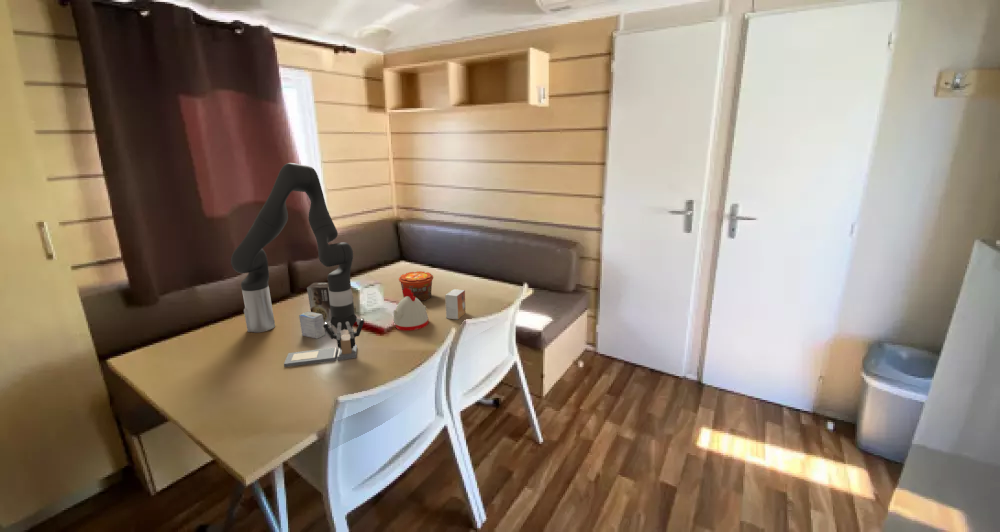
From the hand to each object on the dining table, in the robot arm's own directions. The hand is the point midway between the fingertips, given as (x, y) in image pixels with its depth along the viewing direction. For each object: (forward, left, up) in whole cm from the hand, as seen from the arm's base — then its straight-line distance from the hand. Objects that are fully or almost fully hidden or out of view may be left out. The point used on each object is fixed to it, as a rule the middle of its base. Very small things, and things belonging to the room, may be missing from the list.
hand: (347, 347), depth 153 cm
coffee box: (-11, +33, -3) cm, 35 cm away
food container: (+28, +52, -3) cm, 59 cm away
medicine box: (-14, +20, -3) cm, 24 cm away
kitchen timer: (+23, +21, -3) cm, 31 cm away
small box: (+42, +24, -3) cm, 49 cm away
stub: (0, 0, -2) cm, 2 cm away
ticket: (-12, 0, -2) cm, 12 cm away
